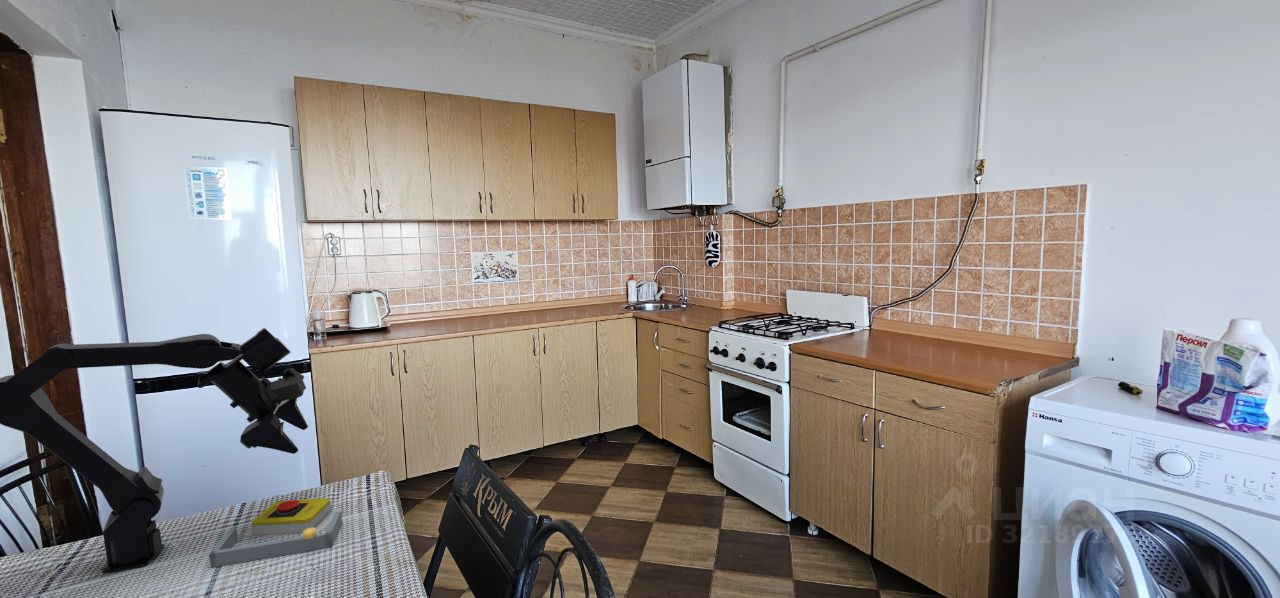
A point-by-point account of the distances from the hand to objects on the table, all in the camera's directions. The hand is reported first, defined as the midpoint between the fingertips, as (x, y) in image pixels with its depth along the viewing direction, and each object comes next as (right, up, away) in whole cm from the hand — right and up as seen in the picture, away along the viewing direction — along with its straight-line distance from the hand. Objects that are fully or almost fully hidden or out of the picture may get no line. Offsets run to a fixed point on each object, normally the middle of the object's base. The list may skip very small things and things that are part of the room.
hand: (301, 439), depth 113 cm
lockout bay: (+2, -17, -10) cm, 20 cm away
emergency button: (0, -17, -2) cm, 17 cm away
